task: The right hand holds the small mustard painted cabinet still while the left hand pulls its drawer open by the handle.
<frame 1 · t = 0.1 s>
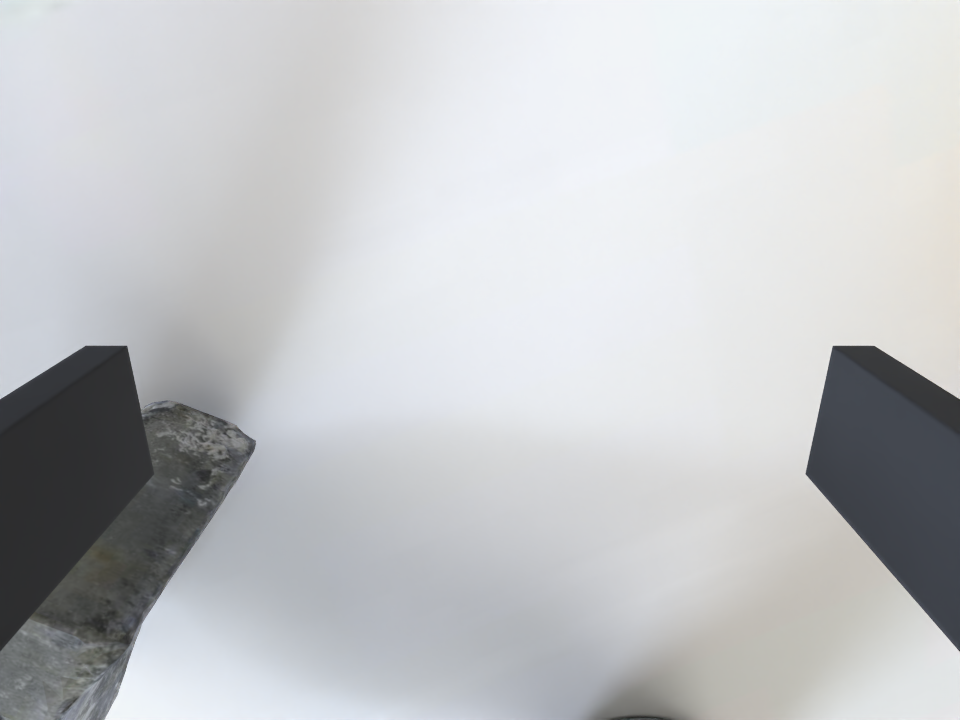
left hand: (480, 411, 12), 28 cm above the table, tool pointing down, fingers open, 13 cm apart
concrete block: (150, 528, 47), on the table
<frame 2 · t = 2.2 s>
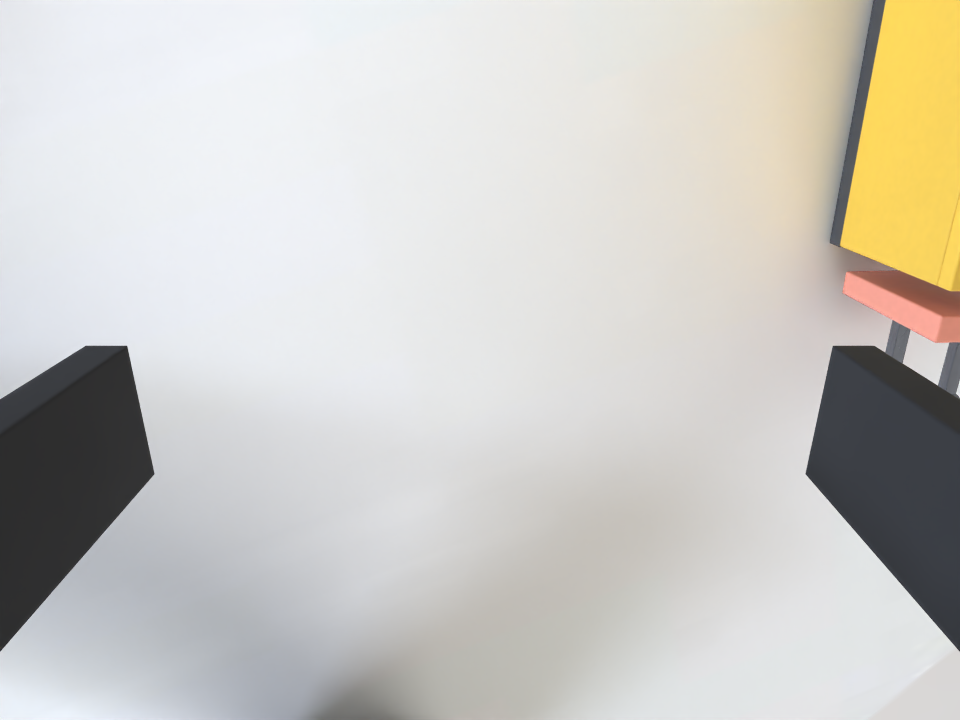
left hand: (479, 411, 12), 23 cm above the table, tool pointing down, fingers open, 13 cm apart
cabinet: (939, 12, 30), on the table
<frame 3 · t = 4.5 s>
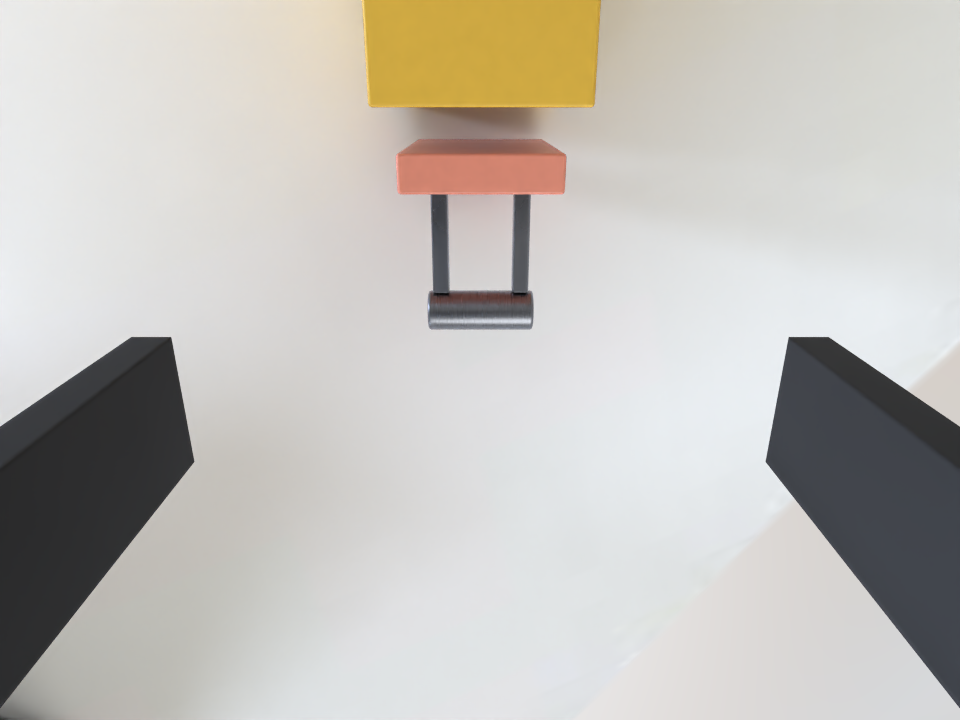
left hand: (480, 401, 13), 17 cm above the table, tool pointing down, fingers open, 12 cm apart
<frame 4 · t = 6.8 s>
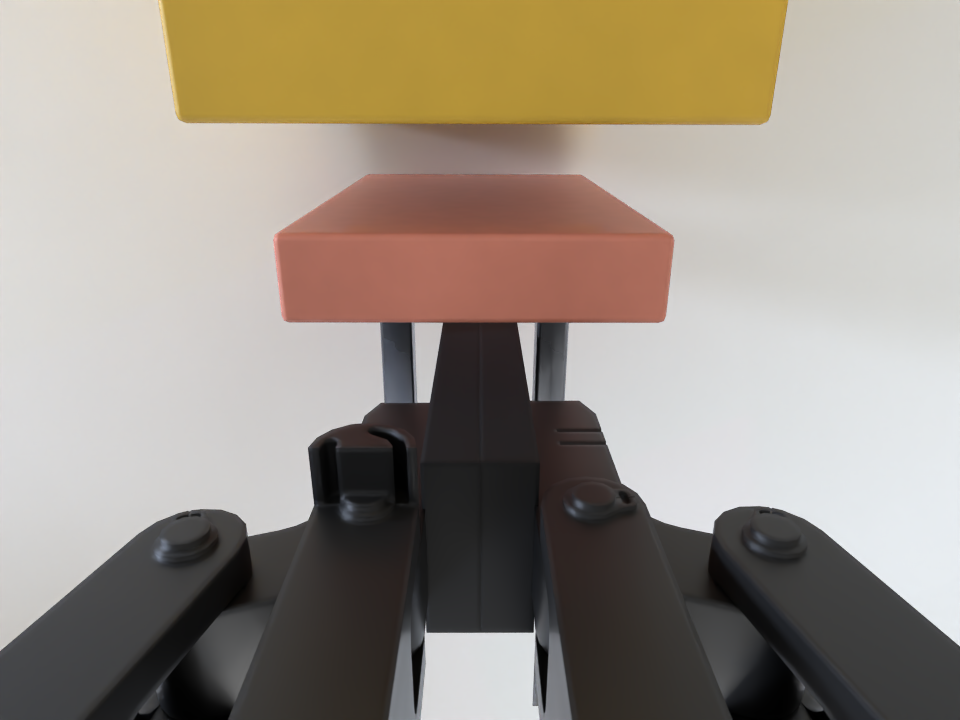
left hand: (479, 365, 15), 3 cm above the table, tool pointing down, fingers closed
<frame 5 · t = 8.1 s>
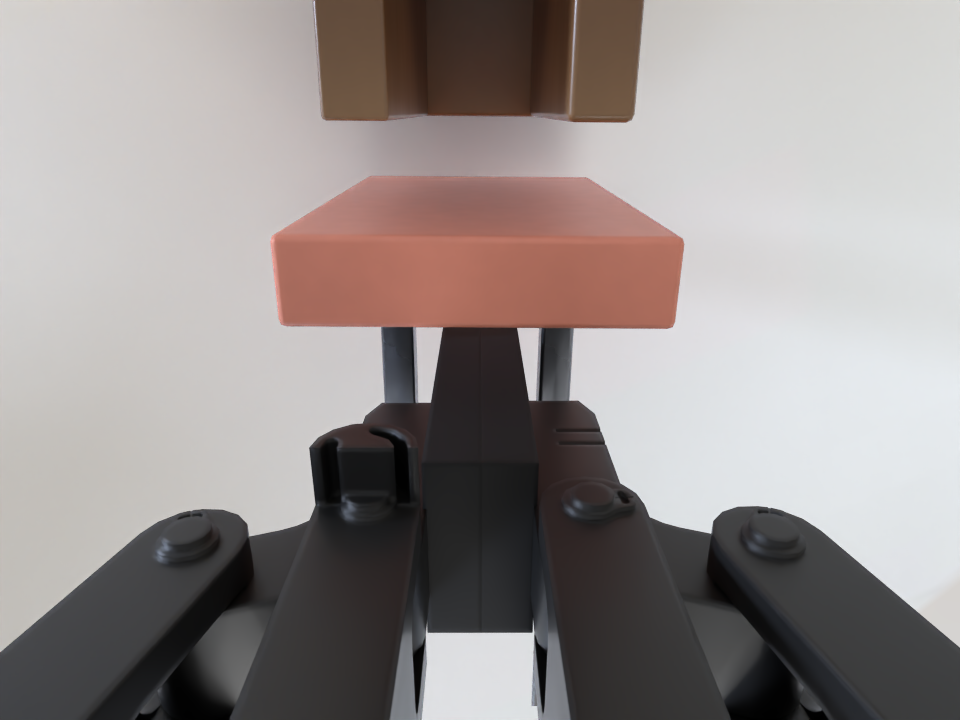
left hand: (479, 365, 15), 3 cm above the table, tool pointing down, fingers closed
when the right hand's fingers open (6 cm above the table, at t = 9.9 s): cabinet stays where it is, on the table.
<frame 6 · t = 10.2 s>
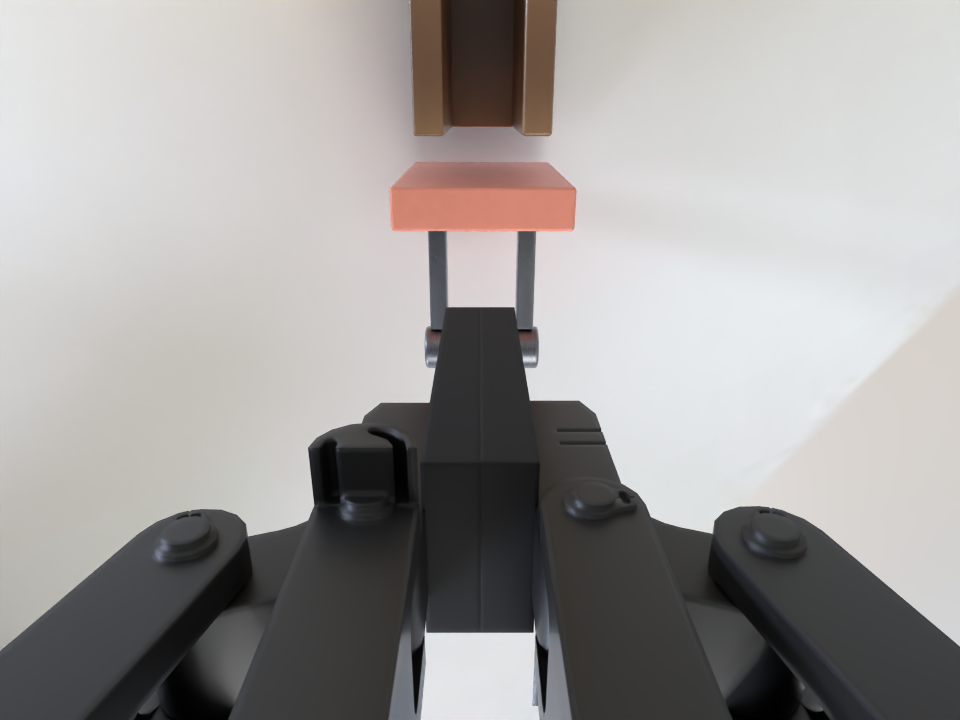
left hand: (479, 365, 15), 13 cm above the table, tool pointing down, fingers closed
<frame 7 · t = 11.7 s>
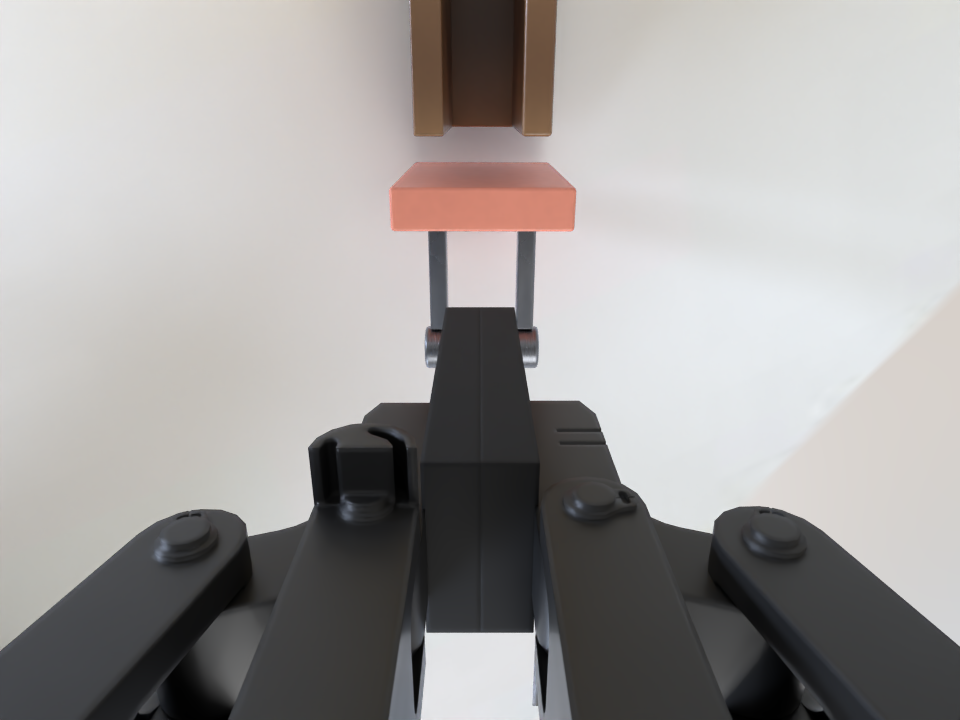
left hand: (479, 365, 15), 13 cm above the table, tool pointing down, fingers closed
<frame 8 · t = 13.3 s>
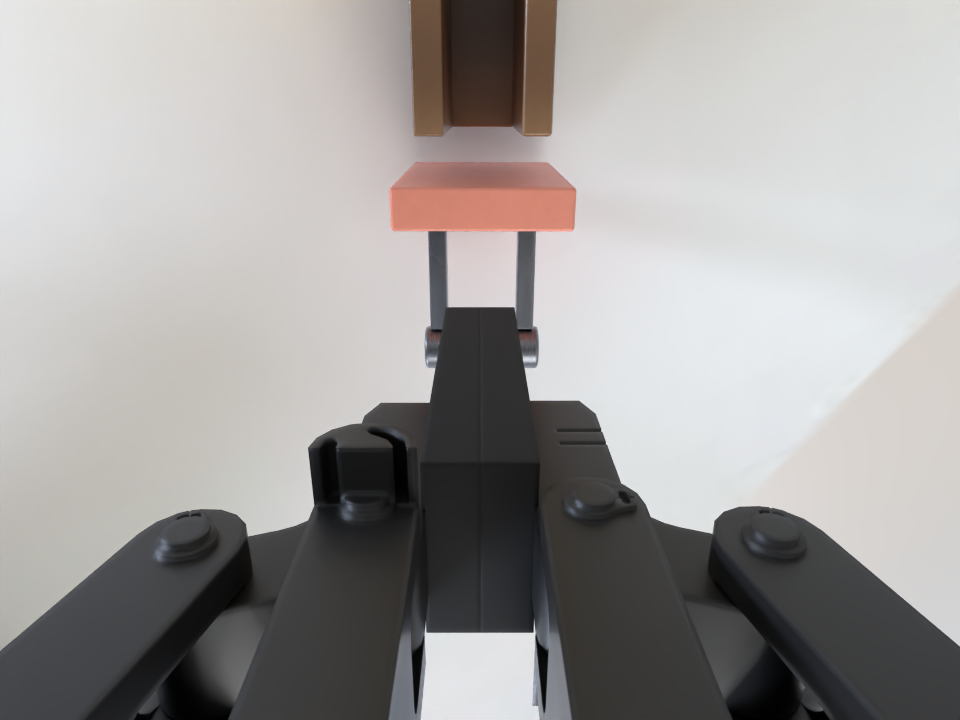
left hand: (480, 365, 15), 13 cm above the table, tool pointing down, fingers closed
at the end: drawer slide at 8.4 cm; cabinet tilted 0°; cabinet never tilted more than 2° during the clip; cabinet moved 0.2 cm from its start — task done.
